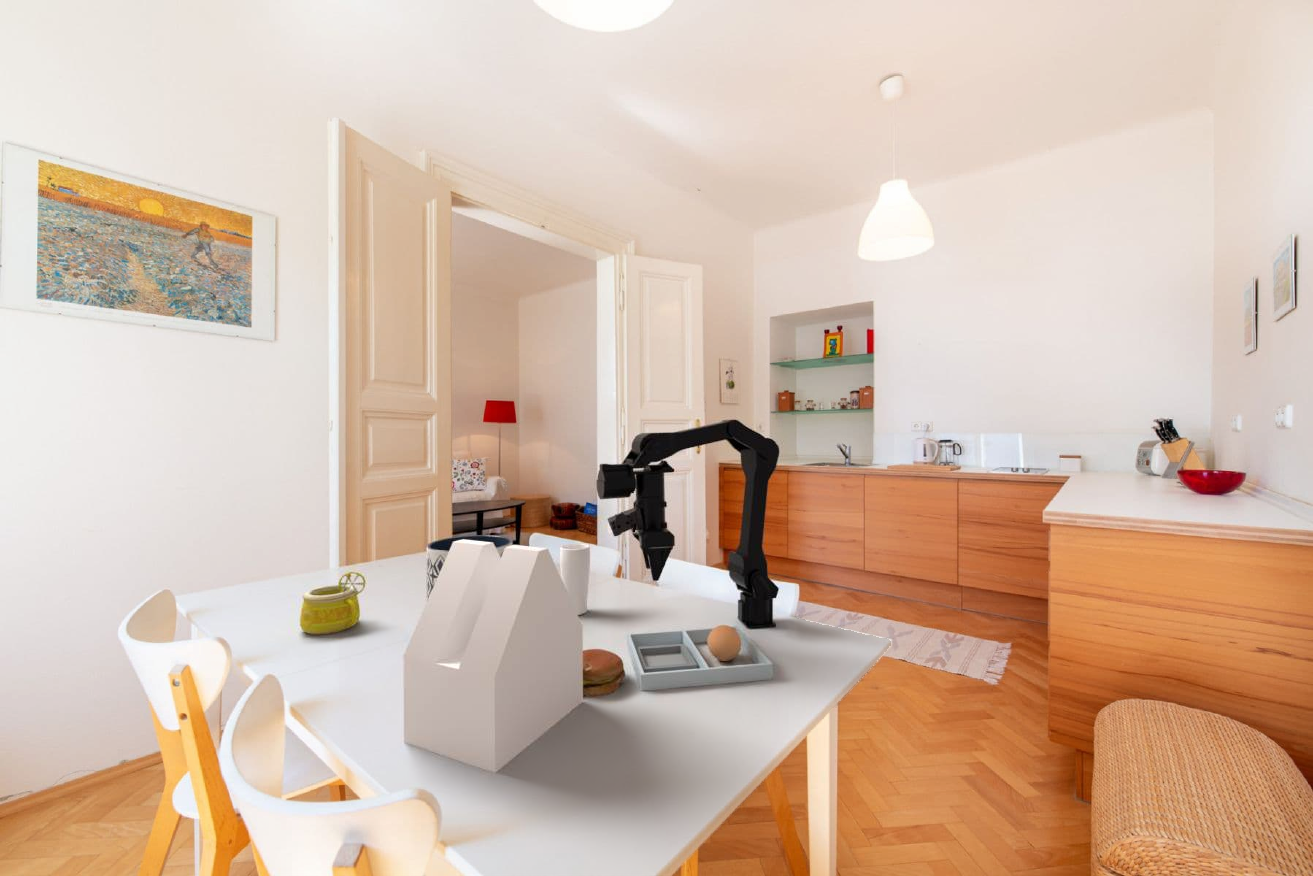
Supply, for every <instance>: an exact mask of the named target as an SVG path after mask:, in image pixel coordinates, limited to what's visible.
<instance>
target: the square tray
mask: <svg viewBox="0 0 1313 876" xmlns="http://www.w3.org/2000/svg"><path fill="white" fill-rule="evenodd" d="M635 649H636V652H637V655H638V658H639V660H640V663H641V666H642V669H643V671H644V673H650V672H662V671H674V670H687V669H698V665H697V663H696V662H695V660H694V658H693V657H692V655H691V653H690V652H689V650H688V648H687V647H686V645H685V643H684V644H670V645H657V646H643V647H635Z"/></svg>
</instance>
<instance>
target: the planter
mask: <svg viewBox="0 0 1313 876" xmlns="http://www.w3.org/2000/svg"><path fill="white" fill-rule="evenodd" d="M462 539H464V540H474V541H483V542H493V543H494V545H495V547H496V549H497V551H498V553H499V555H500V557H502V554H503V552H504V549H505V547H508V546H512V545H514V544H513V543H514V542H513V539H512V538H510V537H508V536H502V535H493V534H492V535H491V534H489V535H487V534H482V535H481V534H479V535H478V534H475V535H464V536H463V535H462V536H454V537H452V536H451V537H446V538H442V539H438V540H434V541H431V542H429V543H428V544H427V545H426V602H427V601H428V598H429V596H430V594H431V592H432V589H433V587H434V585H435V582H436V580H437V578H438V575H439V573H440V571H441V569H442V566H443V564H444V562H445V559H446V557H447V555H448V553H449V550H450V548H451V546H452V543H453V542H454V541H458V540H462Z"/></svg>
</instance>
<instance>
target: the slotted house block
mask: <svg viewBox="0 0 1313 876" xmlns="http://www.w3.org/2000/svg"><path fill="white" fill-rule="evenodd" d="M422 610H423V611H422V612H421V614H420V617H419V618H418V619H419V620H418V621H417V624H416V626H415V629H414V630H413V634H412V635H411V637H410V640H409V642H408V644H407V646H406V649H405V652H404V654H403V743H405V744H408V745H411V746H413V747H417V748H421V749H423V750H425V751H428V752H432V753H435V754H438V755H441V756H443V757H447V758H450V759H453V760H455V761H458V762H461V763H464V764H467V765H470V766H473V767H476V768H479V769H482V770H485V771H488V772H491V773H497V772H498V771H499V770H501V769H502V768H503V767H505V766H506V765H507V764H508V763H509V762H510V761H512V759H514V758H515V757H517V756H518V755H519V754H520V753H521V752H523V751H524V750H525V749H526V748H527V747H529V746H530V745H531V744H532V743H534V742H535V741H536V740H537V739H538V738H540V737H541V736H542V735H544V734H545V733H546V732H548V731H549V730H550V729H551V728H552V727H554V725H556V723H558V722H559V721H561V720H562V719H563V718H564V717H565V716H567V715H568V714H569V713H570V712H572V711H573V710H574V709H575V708H576V707H577V706H579V705H581V704H582V703H583V702H584V695H583V650H584V644H583V643H584V638H583V635H584V633H583V632H584V629H583V626H584V625H583V624H582V621H581V619H580V617H579V615H577V612H576V610H575V608H574V606H573V603H572V601H571V599H570V597H569V595H568V592H567V590H566V588H565V586H564V583H563V581H562V579H561V574H560V571H559V570H558V569H557V566H556V563H555V562H554V559H553V558H552V555H551V552H550V551H549V548H548V547H547V548H546V547H538V546H529V545H528V546H527V545H521V544H513V545H512V546H508V547H505V549H504V552H503V554H502V557H500V555H499V553H498V551H497V549H496V547H495V545H494V543H493V542H483V541H474V540H464V539H462V540H458V541H454V542H453V543H452V546H451V548H450V550H449V553H448V555H447V557H446V559H445V562H444V564H443V566H442V569H441V571H440V573H439V575H438V578H437V580H436V582H435V585H434V587H433V589H432V592H431V594H430V596H429V598H428V601H427V600H426V603H425V605H424V608H423V609H422Z"/></svg>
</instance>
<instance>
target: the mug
mask: <svg viewBox="0 0 1313 876" xmlns="http://www.w3.org/2000/svg"><path fill="white" fill-rule="evenodd" d="M352 574H355V575H356V576H355V578H354V579H353V582H352V580H351V577H352ZM344 577H345V578H346V580H345V582H342V580H343V579H344ZM359 577H360V578H361V579H362V581H363V582H356V580H357V579H358V578H359ZM348 582H349V583H348ZM355 585H360V586H362V588H361V590H360V591H358V588H357V587H355ZM365 587H366V578H365V576H364V575H362V574H361V572H358V571H349V572H345V574H343V575H342V576H341V577H340V578H339V581H338V584H332V585H331V584H330V585H324V586H323V585H322V586H319V587H315V588H312V589H310V590H308V591H306V592H305V593H304V594H303V595H302V598H303V599H302V600H303V602H302V604H301V610H300V617H299V626H300V628H301V630H302V631H304V633H308V634H311V635H327V634H334V633H338V632H341V631H344V630H347V629H350V628H351V627H353V626H355V625H356V624H357V623H358V621H359V620H360V616H361V610H360V604H359V598H358V595H359V594H361V593H362V592H363V591H364V589H365Z"/></svg>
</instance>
